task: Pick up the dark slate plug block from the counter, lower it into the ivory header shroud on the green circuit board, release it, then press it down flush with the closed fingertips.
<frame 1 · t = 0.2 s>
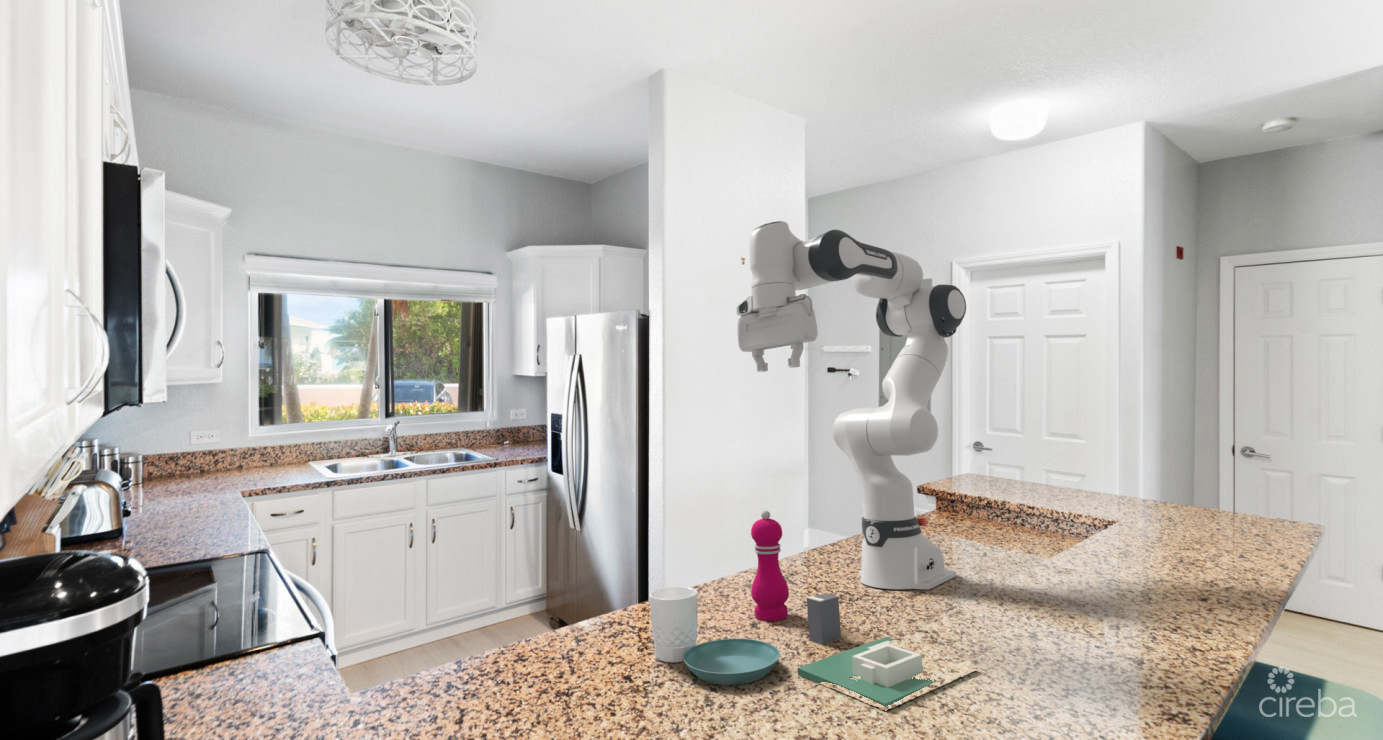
hand: (777, 369, 131), 47 cm above the countertop, tool pointing down, fingers open, 8 cm apart
plug: (825, 639, 111), on the countertop
pepper mill: (771, 617, 125), on the countertop
saucer: (732, 673, 99), on the countertop
white cup: (676, 656, 107), on the countertop
board: (886, 673, 95), on the countertop
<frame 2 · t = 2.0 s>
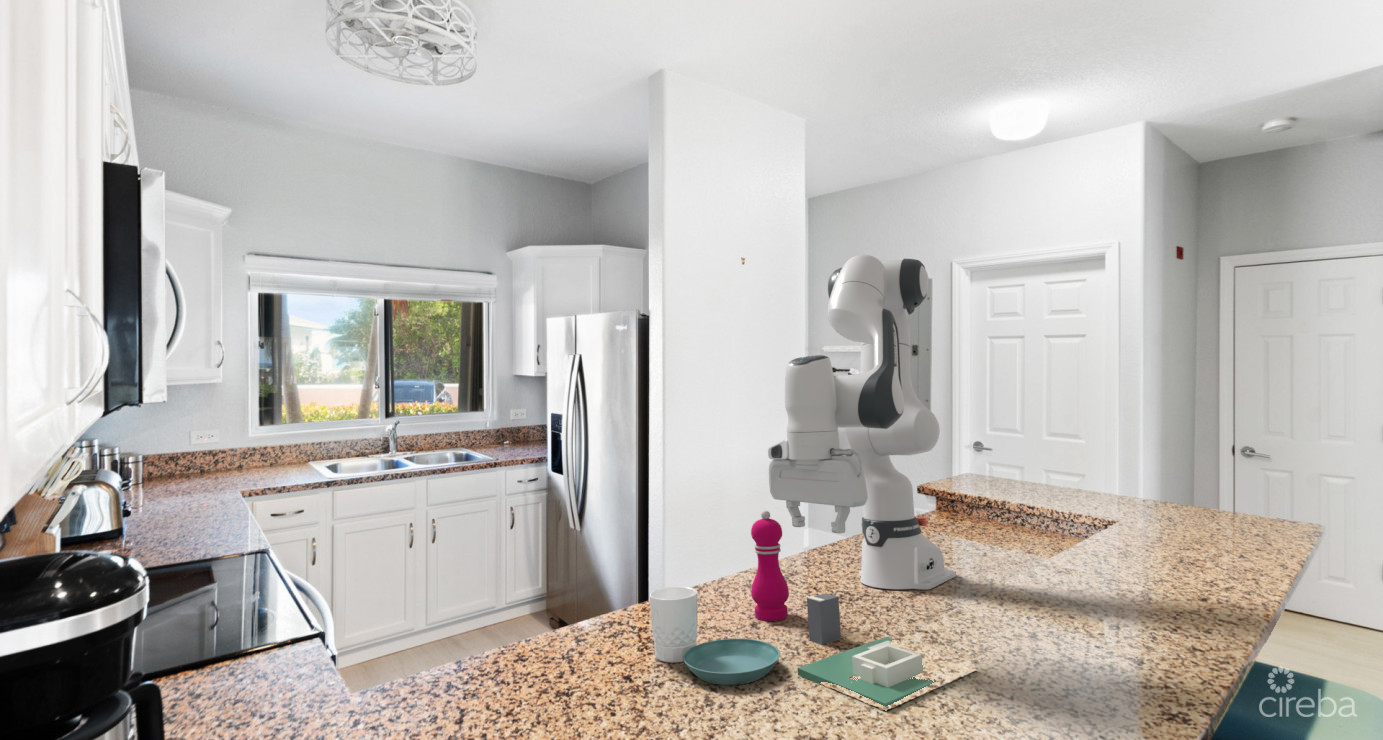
hand: (818, 529, 112), 18 cm above the countertop, tool pointing down, fingers open, 8 cm apart
nothing on the countertop moved.
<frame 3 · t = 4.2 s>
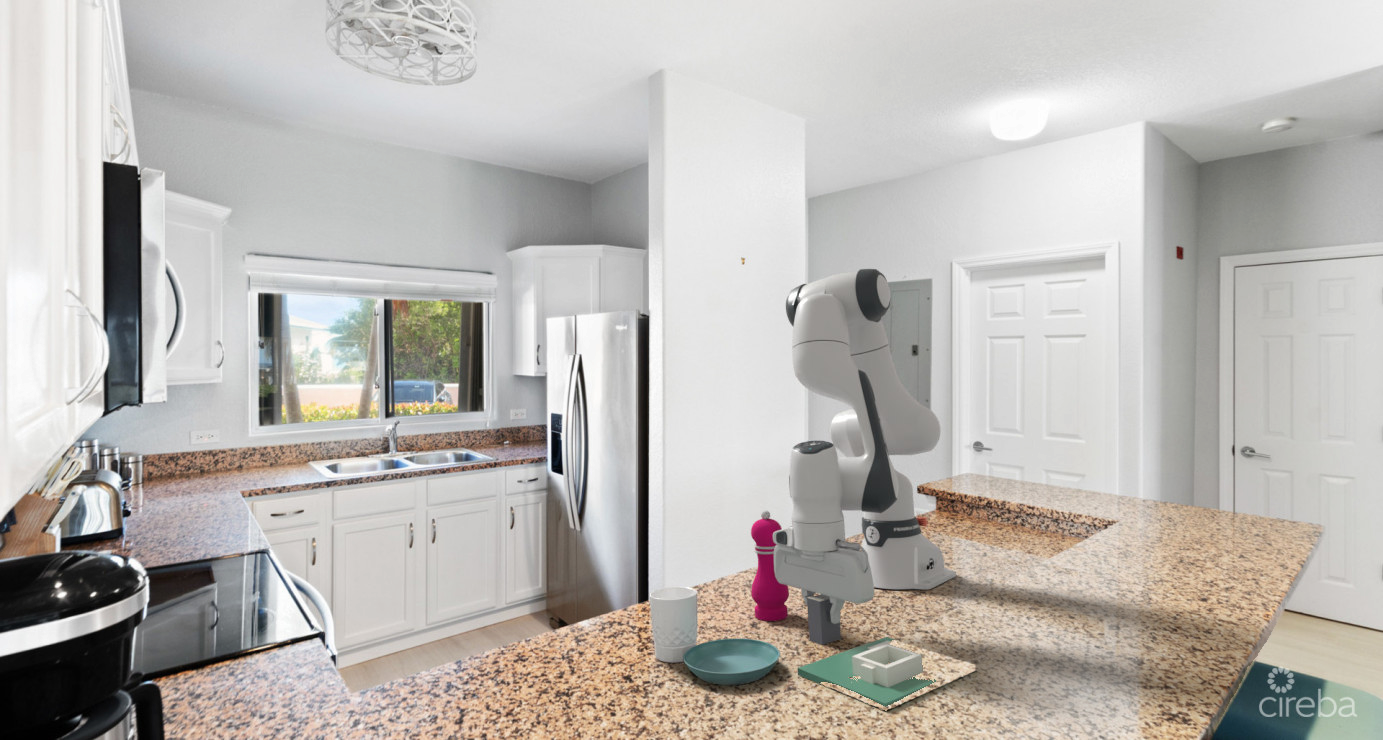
hand: (824, 619, 111), 3 cm above the countertop, tool pointing down, fingers closed on plug, 3 cm apart
plug: (825, 639, 111), on the countertop, touching gripper
everything else where it was.
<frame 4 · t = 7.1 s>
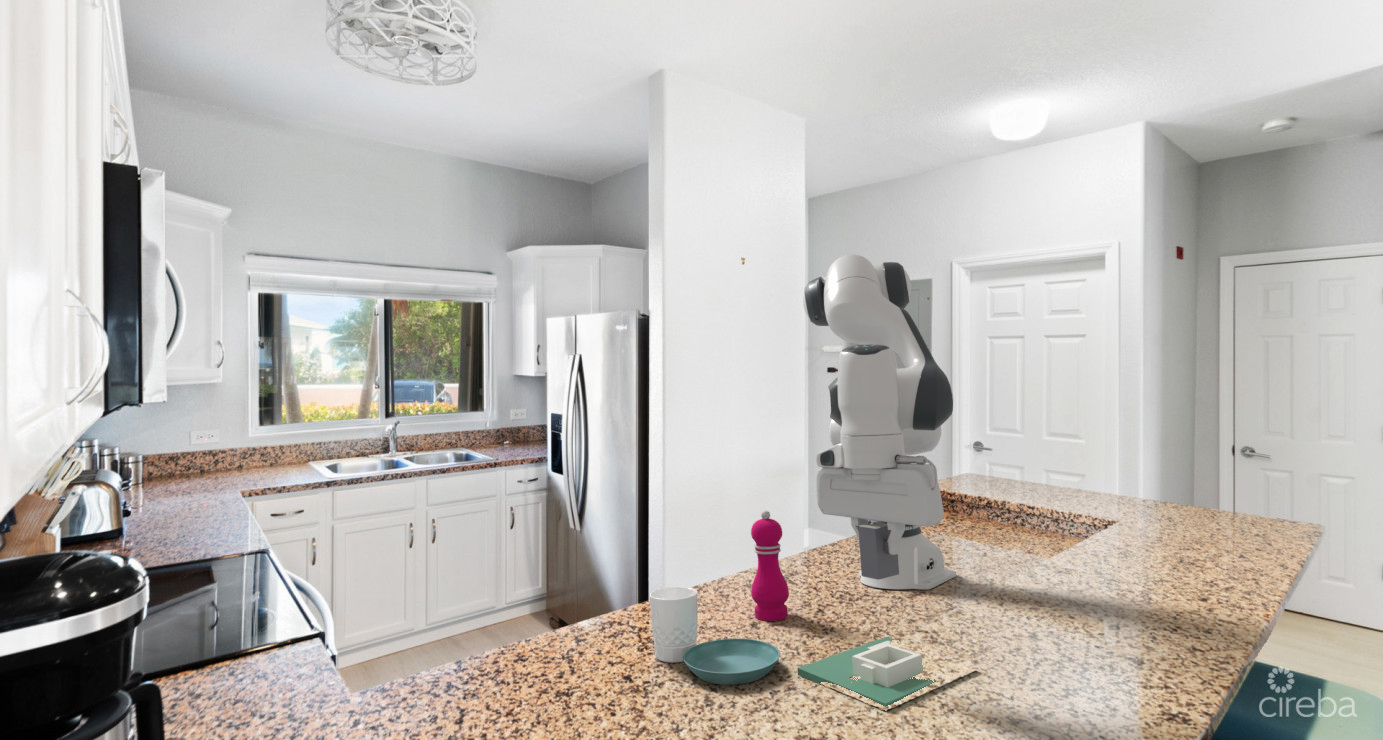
hand: (879, 551, 94), 18 cm above the countertop, tool pointing down, fingers closed on plug, 3 cm apart
plug: (880, 575, 94), point 15 cm above the countertop, touching gripper
everything else where it was.
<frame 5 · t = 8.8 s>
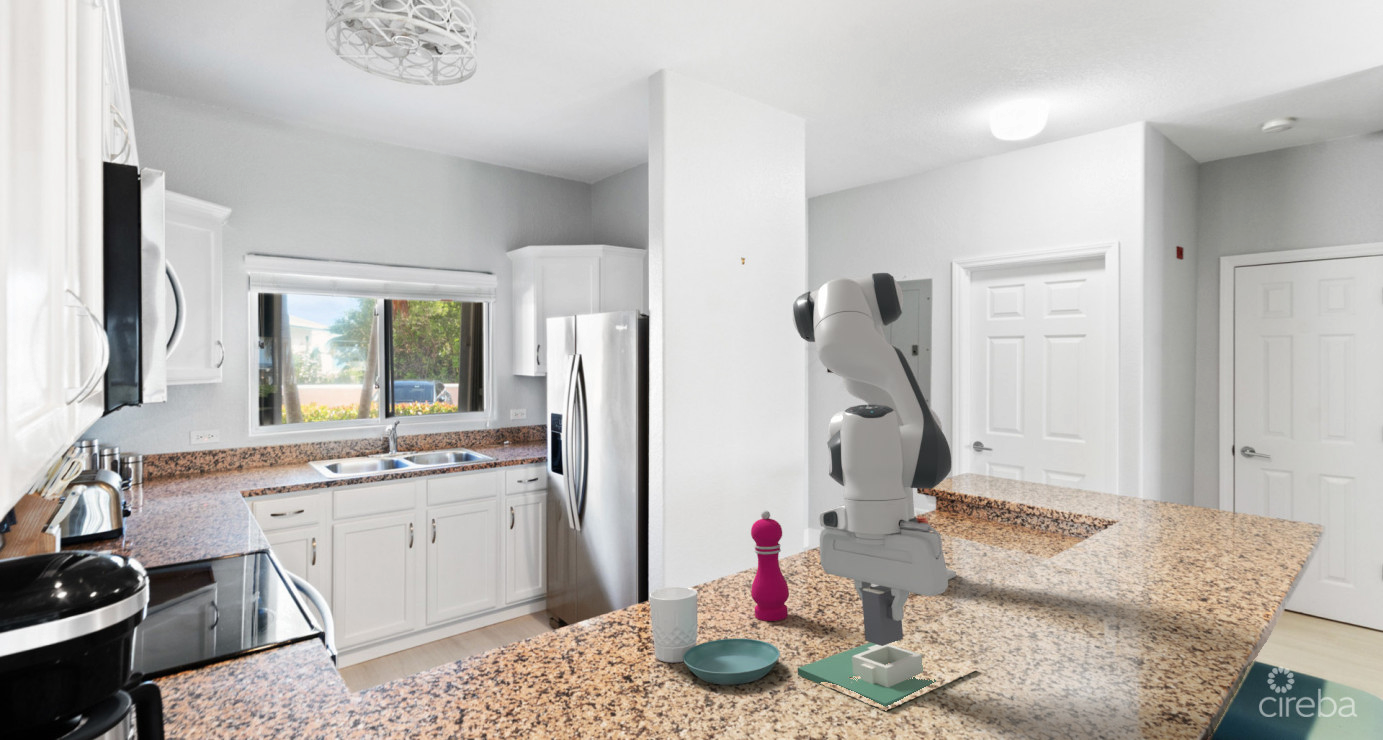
hand: (882, 615, 93), 9 cm above the countertop, tool pointing down, fingers closed on plug, 3 cm apart
plug: (884, 639, 93), point 6 cm above the countertop, touching gripper
everything else where it was.
when the fingers open (5 cm above the countertop, at t = 10.2 s): plug stays where it is, resting on board.
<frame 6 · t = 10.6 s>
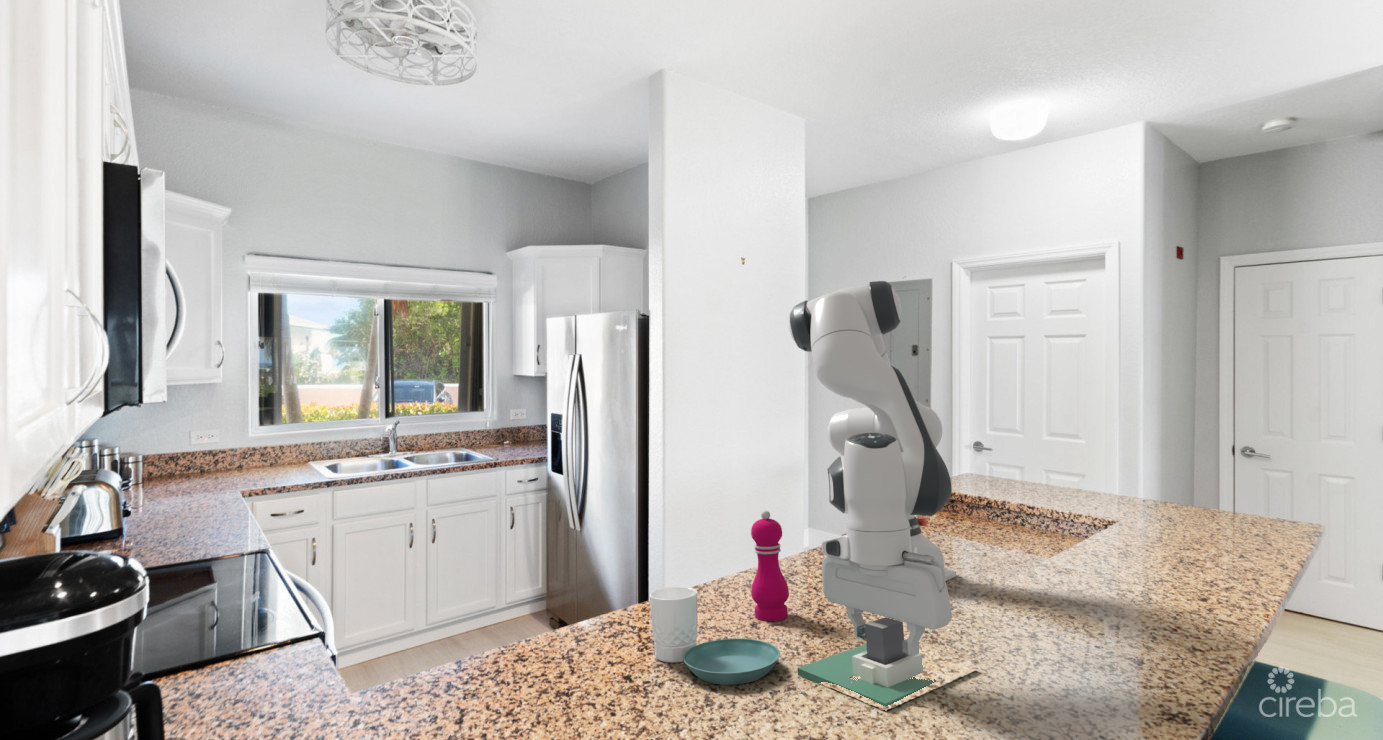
hand: (886, 645, 93), 5 cm above the countertop, tool pointing down, fingers open, 7 cm apart
plug: (887, 673, 93), point 1 cm above the countertop, touching board
everything else where it was.
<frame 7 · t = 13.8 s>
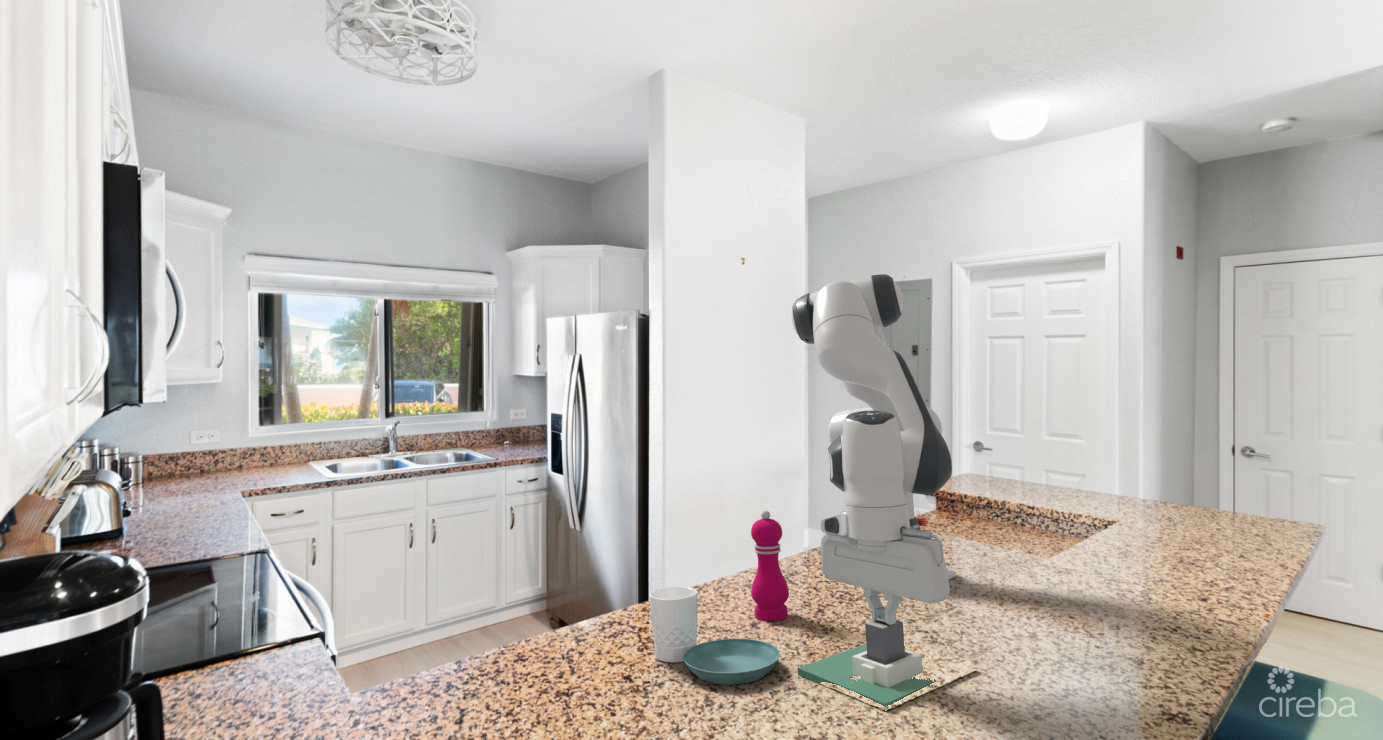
hand: (884, 622, 93), 8 cm above the countertop, tool pointing down, fingers closed
nothing on the countertop moved.
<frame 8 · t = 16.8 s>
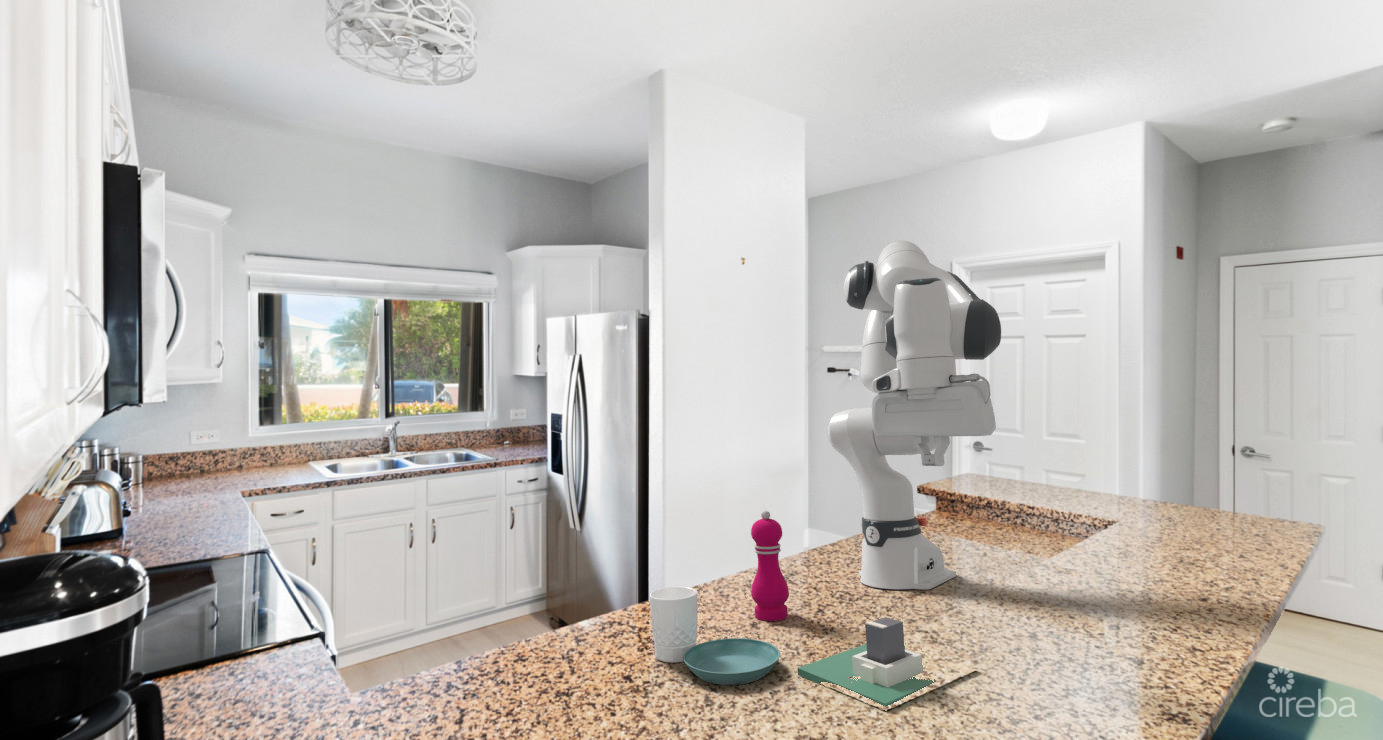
hand: (933, 465, 103), 29 cm above the countertop, tool pointing down, fingers closed
nothing on the countertop moved.
at the end: plug 0.1 cm from the target spot on the board, point 1.0 cm above the board's base; plug tilted 0°; the gripper is holding nothing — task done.
